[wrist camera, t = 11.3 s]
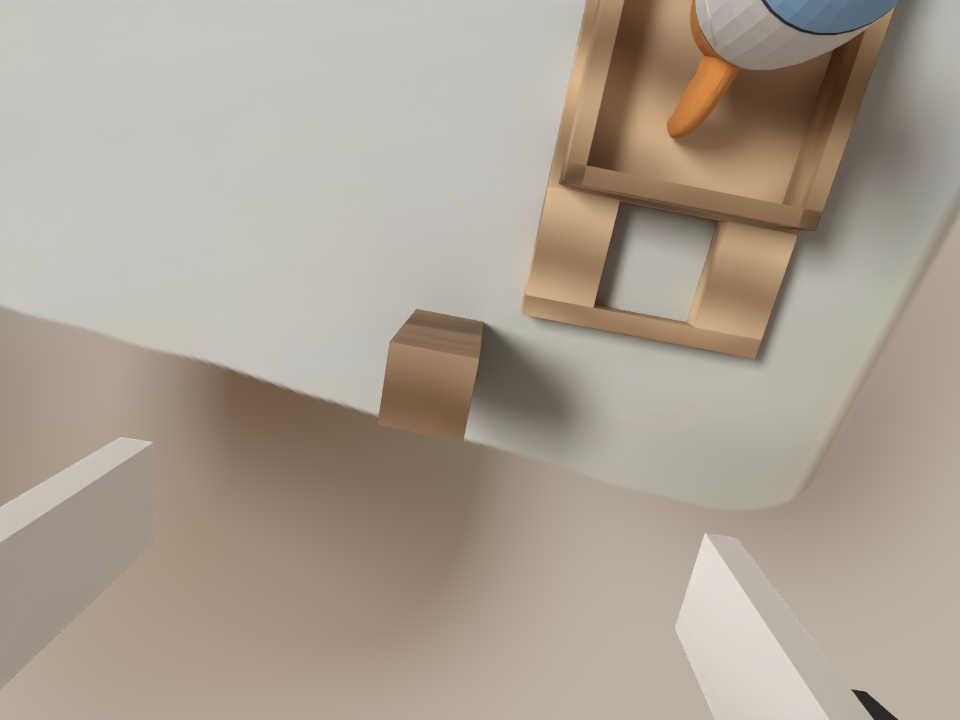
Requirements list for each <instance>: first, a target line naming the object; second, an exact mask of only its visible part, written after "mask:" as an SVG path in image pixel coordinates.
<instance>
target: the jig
mask: <svg viewBox="0 0 960 720" xmlns="http://www.w3.org/2000/svg"><path fill="white" fill-rule="evenodd" d="M691 5H692V0H587V1H586V6H585V10H584V15H583V20H582V25H581V29H580V34H579V39H578V44H577V48H576V53H575V58H574V62H573V67H572V72H571V77H570V81H569V86H568V91H567V95H566V100H565V105H564V110H563V114H562V119H561V124H560V128H559V133H558V138H557V143H556V147H555V152H554V157H553V161H552V166H551V171H550V176H549V180H548V185H547V190H546V194H545V199H544V204H543V209H542V213H541V218H540V223H539V228H538V232H537V237H536V242H535V246H534V251H533V256H532V261H531V265H530V270H529V275H528V279H527V284H526V289H525V294H524V298H523V303H522V308H521V312H522V315H528V316H533V317H538V318H543V319H548V320H554V321H559V322H564V323H569V324H575V325H580V326H585V327H590V328H596V329H601V330H606V331H611V332H616V333H622V334H627V335H632V336H637V337H643V338H648V339H653V340H658V341H663V342H669V343H674V344H679V345H684V346H690V347H695V348H700V349H705V350H711V351H716V352H721V353H726V354H731V355H737V356H742V357H747V358H752V359H755V357H756V355H757V352H758V349H759V346H760V343H761V340H762V337H763V334H764V331H765V329H766V326H767V323H768V320H769V317H770V314H771V311H772V308H773V305H774V303H775V300H776V297H777V294H778V291H779V288H780V285H781V282H782V279H783V277H784V274H785V271H786V268H787V265H788V262H789V259H790V256H791V253H792V251H793V248H794V245H795V242H796V239H797V236H798V233H799V230H809V231H816V229H817V226H818V223H819V220H820V217H821V215H822V212H823V209H824V206H825V203H826V200H827V198H828V195H829V192H830V189H831V186H832V183H833V181H834V178H835V175H836V172H837V169H838V167H839V164H840V161H841V158H842V155H843V152H844V150H845V147H846V144H847V141H848V138H849V136H850V133H851V130H852V127H853V124H854V121H855V119H856V116H857V113H858V110H859V107H860V105H861V102H862V99H863V96H864V93H865V90H866V88H867V85H868V82H869V79H870V76H871V73H872V71H873V68H874V65H875V62H876V59H877V57H878V54H879V51H880V48H881V45H882V42H883V40H884V37H885V34H886V31H887V28H888V26H889V23H890V20H891V17H892V14H893V11H894V9H895V7H894V8H893V9H892V10H891V11H890V12H888V13H887V14H886V15H885V16H883V17H882V18H881V19H880V20H878V21H877V22H876V23H874V24H873V25H871V26H870V27H868V28H867V29H866V30H864V31H863V32H861V33H860V34H858V35H857V36H855V37H854V38H852V39H851V40H849V41H848V42H846V43H844V44H842V45H841V46H839V47H837V48H835V49H833V50H831V51H829V52H826V53H824V54H822V55H819V56H817V57H814V58H812V59H810V60H807V61H805V62H803V63H799V64H795V65H791V66H787V67H782V68H777V69H773V70H746V69H740V71H739V72H738V74H737V76H736V77H735V79H734V80H733V82H732V83H731V85H730V86H729V88H728V90H727V91H726V93H725V94H724V96H723V97H722V99H721V100H720V102H719V103H718V104H717V106H716V107H715V108H714V110H713V111H712V112H711V113H710V115H709V116H708V117H707V118H706V119H705V120H704V121H703V122H702V123H701V124H700V125H699V126H698V127H696V128H695V129H694V130H692V131H691V132H690V133H688V134H686V135H685V136H683V137H680V138H672V137H670V135H669V133H668V130H667V122H668V119H669V118H670V117H671V116H672V115H673V113H674V111H675V109H676V107H677V105H678V104H679V102H680V100H681V98H682V96H683V94H684V93H685V91H686V89H687V87H688V85H689V83H690V81H691V80H692V79H693V78H694V77H695V75H696V73H697V70H698V68H699V64H700V62H701V60H702V58H703V57H704V55H703V53H702V52H701V51H700V49H699V48H698V47H697V45H696V43H695V41H694V39H693V35H692V31H691V25H690V12H691ZM620 202H624V203H629V204H634V205H639V206H644V207H649V208H654V209H659V210H664V211H669V212H675V213H680V214H685V215H690V216H695V217H700V218H705V219H710V220H715V221H718V222H717V225H716V228H715V232H714V235H713V238H712V241H711V245H710V248H709V251H708V255H707V258H706V261H705V265H704V268H703V271H702V274H701V278H700V281H699V284H698V288H697V291H696V294H695V298H694V301H693V304H692V307H691V311H690V314H689V317H688V321H687V322H682V321H677V320H672V319H666V318H661V317H656V316H651V315H645V314H640V313H635V312H630V311H625V310H619V309H614V308H609V307H604V306H599V305H594V303H595V299H596V295H597V291H598V287H599V283H600V279H601V275H602V271H603V267H604V263H605V259H606V255H607V251H608V247H609V243H610V239H611V235H612V231H613V227H614V223H615V219H616V215H617V211H618V207H619V203H620Z"/></svg>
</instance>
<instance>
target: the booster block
mask: <svg viewBox="0 0 960 720" xmlns="http://www.w3.org/2000/svg"><path fill="white" fill-rule="evenodd" d="M483 323H484V322H481V321H476V320H471V319H465V318H460V317H455V316H450V315H445V314H439V313H434V312H429V311H424V310H419V309H416V310H415V311H414V313H413V314H412V315H411V316H410V318H409V319H408V320H407V321H406V323H405V324H404V325H403V326H402V327H401V329H400V330H399V331H398V332H397V334H396V335H395V336H394V337H393V339H392V340H391V341H390V344H389V351H388V357H387V364H386V371H385V378H384V385H383V392H382V399H381V405H380V412H379V419H378V425H382V426H387V427H392V428H398V429H403V430H408V431H414V432H419V433H424V434H429V435H435V436H440V437H445V438H451V439H456V440H461V441H463V439H464V434H465V429H466V424H467V419H468V414H469V409H470V404H471V399H472V394H473V389H474V384H475V378H476V373H477V368H478V363H479V357H480V349H481V340H482V332H483Z"/></svg>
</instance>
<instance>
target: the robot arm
mask: <svg viewBox="0 0 960 720" xmlns="http://www.w3.org/2000/svg"><path fill="white" fill-rule="evenodd" d="M153 446H154V442H149V441H143V440H137V439H131V438H124V437H120V438H118V439H116V440H115V441H113V442H111V443H109V444H108V445H106V446H104V447H103V448H101V449H99V450H97V451H96V452H94V453H92V454H91V455H89V456H87V457H85V458H84V459H82V460H80V461H79V462H77V463H75V464H73V465H72V466H70V467H68V468H66V469H65V470H63V471H61V472H60V473H58V474H56V475H54V476H53V477H51V478H49V479H48V480H46V481H44V482H42V483H41V484H39V485H37V486H36V487H34V488H32V489H30V490H29V491H27V492H25V493H24V494H22V495H20V496H18V497H17V498H15V499H13V500H12V501H10V502H8V503H6V504H5V505H3V506H1V507H0V689H1V688H2V687H3V686H4V685H5V684H6V683H7V682H9V681H10V680H11V679H12V678H13V677H14V676H15V675H16V674H17V673H18V672H19V671H20V670H21V669H22V668H23V667H24V666H25V665H26V664H27V663H28V662H30V661H31V660H32V659H33V658H34V657H35V656H36V655H37V654H38V653H39V652H40V651H41V650H42V649H43V648H44V647H45V646H46V645H47V644H48V643H50V642H51V641H52V640H53V639H54V638H55V637H56V636H57V635H58V634H59V633H60V632H61V631H62V630H63V629H64V628H65V627H66V626H67V625H69V624H70V623H71V622H72V621H73V620H74V619H75V618H76V617H77V616H78V615H79V614H80V613H81V612H82V611H83V610H84V609H85V608H86V607H87V606H89V605H90V604H91V603H92V602H93V601H94V600H95V599H96V598H97V597H98V596H99V595H100V594H101V593H102V592H103V591H104V590H105V589H106V588H107V587H109V586H110V585H111V584H112V583H113V582H114V581H115V580H116V579H117V578H118V577H119V576H120V575H121V574H122V573H123V572H124V571H125V570H126V569H127V568H128V567H130V566H131V565H132V564H133V563H134V562H135V561H136V560H137V559H138V558H139V557H140V556H141V555H142V554H143V553H144V552H145V551H146V550H147V549H148V548H150V547H151V546H152V545H153V467H154V463H153V461H154V458H153V457H154V454H153V453H154V447H153ZM675 630H676V632H677V634H678V637H679V639H680V641H681V643H682V646H683V648H684V650H685V653H686V655H687V657H688V659H689V662H690V664H691V666H692V668H693V671H694V673H695V675H696V678H697V680H698V682H699V685H700V687H701V689H702V691H703V694H704V696H705V698H706V701H707V703H708V705H709V707H710V710H711V712H712V714H713V717H714V719H715V720H898V719H897V718H895V717H894V716H893V715H892V714H891V713H889V712H888V711H887V710H886V709H885V708H884V707H883V706H882V705H880V704H879V703H878V702H877V701H876V700H875V699H874V698H872V697H871V696H870V695H869V694H868V693H867V692H864V691H858V690H852V689H850V688H849V686H848V685H847V683H846V682H845V681H844V680H843V678H842V677H841V676H840V674H839V673H838V672H837V670H836V669H835V668H834V666H833V665H832V664H831V662H830V661H829V660H828V658H827V657H826V656H825V654H824V653H823V652H822V650H821V649H820V648H819V646H818V645H817V644H816V642H815V641H814V640H813V638H812V637H811V636H810V634H809V633H808V632H807V630H806V629H805V628H804V626H803V625H802V624H801V623H800V621H799V620H798V619H797V617H796V616H795V615H794V613H793V612H792V611H791V609H790V608H789V607H788V605H787V604H786V603H785V601H784V600H783V599H782V597H781V596H780V595H779V593H778V592H777V591H776V589H775V588H774V587H773V585H772V584H771V583H770V581H769V580H768V579H767V577H766V576H765V575H764V573H763V572H762V571H761V570H760V568H759V567H758V566H757V564H756V563H755V562H754V560H753V559H752V558H751V556H750V555H749V554H748V552H747V551H746V550H745V548H744V547H743V546H742V544H741V543H740V542H739V540H738V539H737V538H733V537H727V536H721V535H715V534H708V533H705V535H704V538H703V541H702V544H701V547H700V551H699V554H698V557H697V560H696V563H695V566H694V570H693V573H692V576H691V579H690V582H689V585H688V589H687V592H686V595H685V598H684V601H683V604H682V607H681V610H680V614H679V617H678V620H677V623H676V626H675Z"/></svg>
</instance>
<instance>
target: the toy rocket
mask: <svg viewBox="0 0 960 720" xmlns="http://www.w3.org/2000/svg"><path fill="white" fill-rule="evenodd" d="M900 1H901V0H692V5H691V12H690V25H691V31H692V35H693V39H694V41H695V43H696V45H697V47H698V48H699V49H700V51H701V52H702V53H703V55H704V57H703V58H702V60H701V62H700V64H699V68H698V70H697V73H696V75H695V77H694V78H693V79H692V80H691V81H690V83H689V85H688V87H687V89H686V91H685V93H684V94H683V96H682V98H681V100H680V102H679V104H678V105H677V107H676V109H675V111H674V113H673V115H672V116H671V117H670V118H669V119H668V122H667V130H668V133H669V135H670V137H672V138H680V137H683V136H685V135H686V134H688V133H690V132H691V131H692V130H694V129H695V128H696V127H698V126H699V125H700V124H701V123H702V122H703V121H704V120H705V119H706V118H707V117H708V116H709V115H710V113H711V112H712V111H713V110H714V108H715V107H716V106H717V104H718V103H719V102H720V100H721V99H722V97H723V96H724V94H725V93H726V91H727V90H728V88H729V86H730V85H731V83H732V82H733V80H734V79H735V77H736V76H737V74H738V72H739V71H740V69H746V70H773V69H777V68H782V67H787V66H791V65H795V64H799V63H803V62H805V61H807V60H810V59H812V58H814V57H817V56H819V55H822V54H824V53H826V52H829V51H831V50H833V49H835V48H837V47H839V46H841V45H842V44H844V43H846V42H848V41H849V40H851V39H852V38H854V37H855V36H857V35H858V34H860V33H861V32H863V31H864V30H866V29H867V28H868V27H870V26H871V25H873V24H874V23H876V22H877V21H878V20H880V19H881V18H882V17H883V16H885V15H886V14H887V13H888V12H890V11H891V10H892V9H893V8H894V7H895V6H896V5H897V4H898V3H899V2H900Z"/></svg>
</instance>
